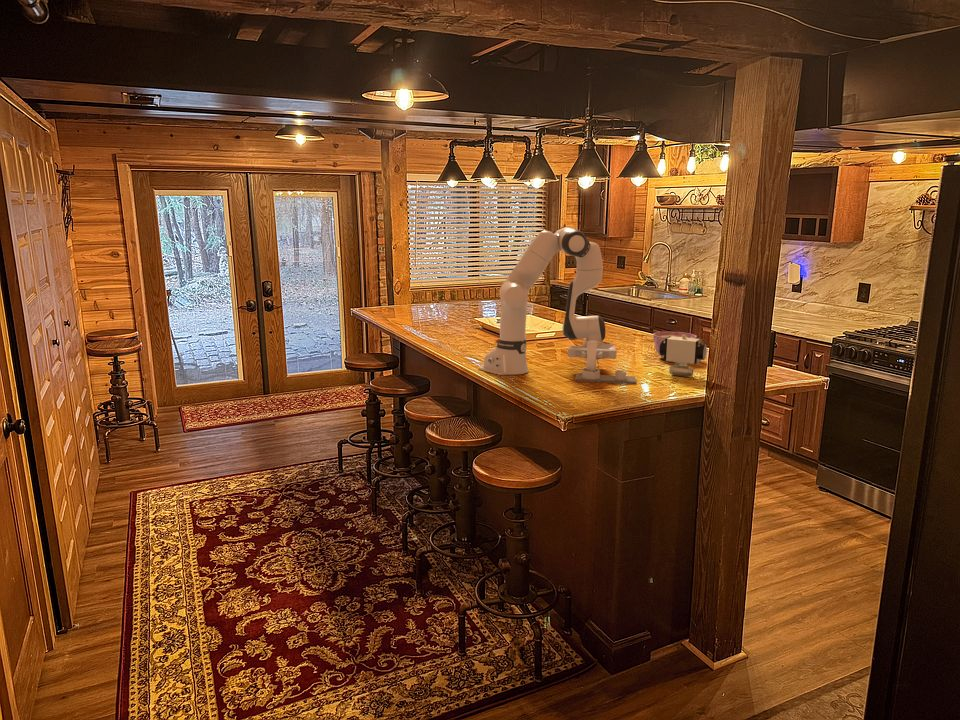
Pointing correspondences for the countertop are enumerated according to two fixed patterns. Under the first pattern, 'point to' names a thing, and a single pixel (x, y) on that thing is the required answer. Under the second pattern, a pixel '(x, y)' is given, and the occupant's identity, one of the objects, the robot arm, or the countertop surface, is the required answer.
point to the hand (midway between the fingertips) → (591, 356)
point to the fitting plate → (605, 377)
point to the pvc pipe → (591, 356)
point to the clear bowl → (662, 335)
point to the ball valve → (682, 353)
